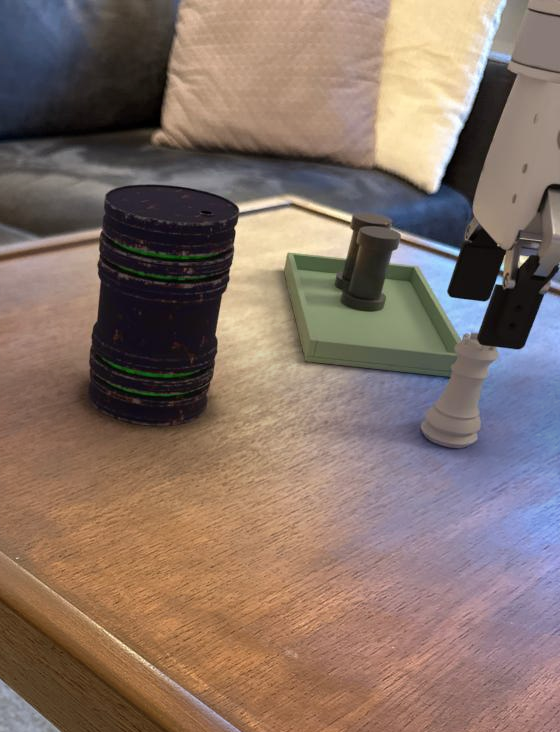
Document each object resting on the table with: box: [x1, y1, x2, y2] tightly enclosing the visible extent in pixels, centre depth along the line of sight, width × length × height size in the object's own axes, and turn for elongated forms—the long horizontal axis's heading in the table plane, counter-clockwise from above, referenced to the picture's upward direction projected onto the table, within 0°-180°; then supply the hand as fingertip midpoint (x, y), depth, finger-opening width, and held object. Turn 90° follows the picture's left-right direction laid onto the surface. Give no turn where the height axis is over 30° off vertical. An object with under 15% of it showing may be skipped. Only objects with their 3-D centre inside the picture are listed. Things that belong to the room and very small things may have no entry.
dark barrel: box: [87, 183, 240, 427], centre depth 74 cm, size 10×10×15 cm
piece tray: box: [283, 251, 462, 378], centre depth 97 cm, size 14×25×2 cm, turn 175°
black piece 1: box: [334, 211, 393, 290], centre depth 101 cm, size 4×4×7 cm
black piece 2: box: [340, 226, 402, 312], centre depth 97 cm, size 4×4×7 cm
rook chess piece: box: [420, 331, 500, 449], centre depth 75 cm, size 4×4×8 cm
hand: (482, 320), depth 72 cm, fingers open, 9 cm apart
